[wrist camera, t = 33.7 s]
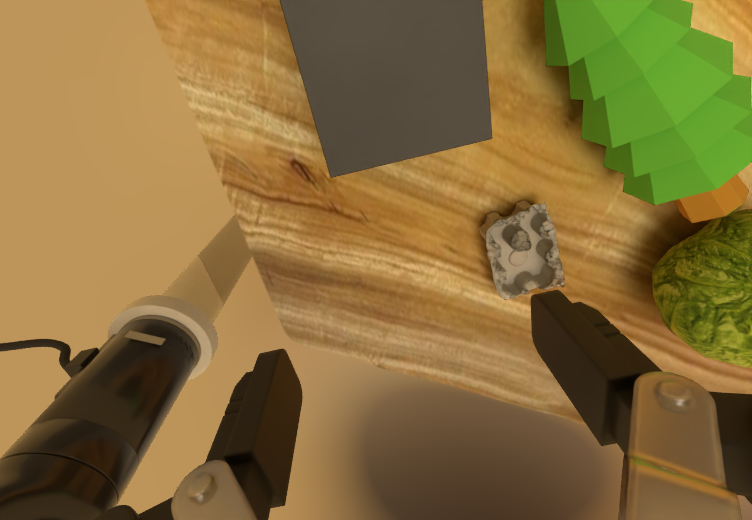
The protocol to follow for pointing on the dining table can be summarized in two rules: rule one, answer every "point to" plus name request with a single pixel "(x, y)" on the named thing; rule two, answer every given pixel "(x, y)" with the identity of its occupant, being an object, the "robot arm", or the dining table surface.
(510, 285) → the egg carton
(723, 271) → the lettuce
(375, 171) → the dining table surface
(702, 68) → the decorative tree
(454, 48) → the cabinet
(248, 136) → the dining table surface
